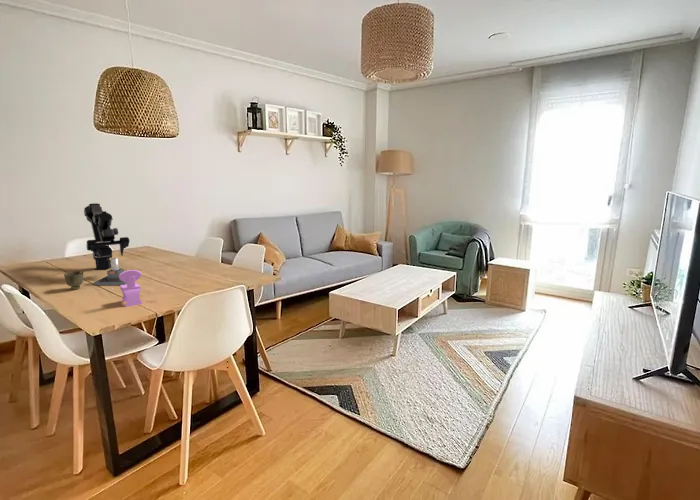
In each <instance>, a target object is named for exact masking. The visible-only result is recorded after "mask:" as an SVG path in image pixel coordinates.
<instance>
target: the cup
mask: <svg viewBox="0 0 700 500" xmlns="http://www.w3.org/2000/svg"><path fill="white" fill-rule="evenodd" d="M63 276H64V280H65V283H66V285H67V286H69V287H70V290H74V291H75V290H79V289H81V285H83V284H84V283H83V282H84V271H80V270H79V271H78V270H76V271H72V272H71V271H69V272H65V273H63Z"/></svg>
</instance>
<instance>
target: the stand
mask: <svg viewBox="0 0 700 500" xmlns="http://www.w3.org/2000/svg"><path fill="white" fill-rule="evenodd" d="M122 272H125V268H119V271H112V268H111V269H109V270H107V271H106V274H107V275H106V276H104V277H102V278H101V279H98V280H96V281H94V282H93V284H94V286H120V285H127V283H126V282H123V281H121V280H120V279H119V275H120V274H121V273H122Z"/></svg>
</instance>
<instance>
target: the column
mask: <svg viewBox="0 0 700 500" xmlns="http://www.w3.org/2000/svg"><path fill="white" fill-rule="evenodd" d="M110 260H111V269H112V271H119V269H120V265H119V257H112V258H110Z"/></svg>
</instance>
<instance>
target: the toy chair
mask: <svg viewBox="0 0 700 500" xmlns="http://www.w3.org/2000/svg"><path fill="white" fill-rule="evenodd" d="M141 277H142V272H141V271H140V270H137V269H128V270H124V272H122V273H121V274H120V275H119V279H120V280H121V281H123V282H126V283H127V284H125V285H119V286H120V287H119V288H120V290H121V293H122V295H123V296H122V299H121V302H126V304H125V308H126V307H132V306H133V307H134V306H138V305H142V304H143V302H142V300H141V299H140V293H141V285H140V284H139V283H137V282H136V281H138V280H139V279H140V278H141Z"/></svg>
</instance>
